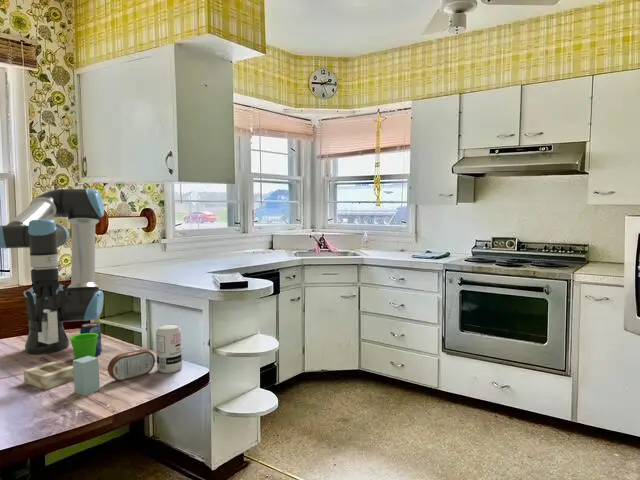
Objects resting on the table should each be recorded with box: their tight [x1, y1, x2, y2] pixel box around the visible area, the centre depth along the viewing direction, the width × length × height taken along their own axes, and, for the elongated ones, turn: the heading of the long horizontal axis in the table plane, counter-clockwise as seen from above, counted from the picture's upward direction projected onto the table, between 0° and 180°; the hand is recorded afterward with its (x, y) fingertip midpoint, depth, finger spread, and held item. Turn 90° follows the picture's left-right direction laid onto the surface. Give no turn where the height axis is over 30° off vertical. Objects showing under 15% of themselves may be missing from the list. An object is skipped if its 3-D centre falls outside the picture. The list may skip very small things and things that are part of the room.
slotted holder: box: [23, 360, 74, 390], centre depth 150 cm, size 10×12×4 cm
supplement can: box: [155, 323, 183, 374], centre depth 159 cm, size 8×8×15 cm
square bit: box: [72, 356, 101, 397], centre depth 141 cm, size 5×5×10 cm
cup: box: [69, 333, 99, 360], centre depth 163 cm, size 9×9×11 cm
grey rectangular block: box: [38, 309, 58, 344], centre depth 149 cm, size 3×6×10 cm, turn 60°
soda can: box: [79, 322, 102, 358], centre depth 175 cm, size 7×7×12 cm
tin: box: [107, 348, 156, 382], centre depth 153 cm, size 15×3×8 cm, turn 136°
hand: (48, 340), depth 149 cm, fingers closed on grey rectangular block, 3 cm apart
